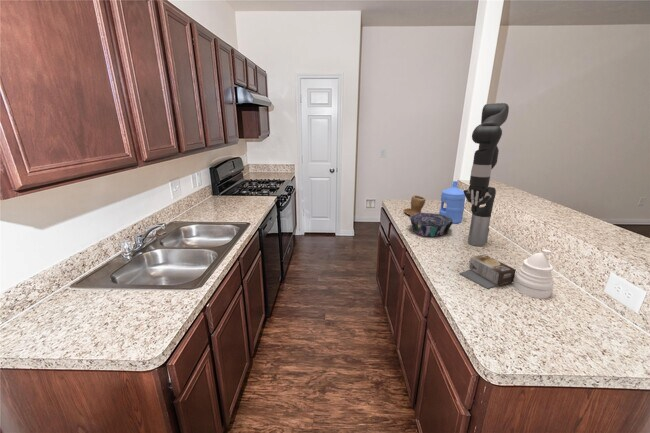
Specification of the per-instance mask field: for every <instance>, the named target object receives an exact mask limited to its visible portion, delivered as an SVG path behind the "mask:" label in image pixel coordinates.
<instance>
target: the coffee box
mask: <svg viewBox="0 0 650 433" xmlns="http://www.w3.org/2000/svg"><path fill="white" fill-rule="evenodd" d="M468 270H472V271H474V272H476V273H477V274H479V275H481V276H483V277H484V278H486V279H488V280H489V281H491V282H493V283H494V284H496V285H498V286H502V285H508V284H511V283H512V284H513V283H514V278H515V274H516V272H517V271H516V270H517V269H515V268H513V267H511V266H510V265H507V264H505V263H503V262H501V261H499V260H498V259H496V258H493V257H492V256H489V255H487V254H480V255H474V256H470V258H469V263H468ZM498 286H497V287H498Z"/></svg>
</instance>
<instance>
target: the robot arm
mask: <svg viewBox="0 0 650 433" xmlns="http://www.w3.org/2000/svg"><path fill="white" fill-rule="evenodd" d="M509 108H510V107H509V105H508V104H507V103H505V102H500V103H487V104H484V105H483V107H482V110H481V119H480V120H481V121H480V124H478V125H476V127H475V128H474V129H473V131H472V134H471V140H472V142H474V143H475V144H478V149H477V150H475V151H474V155H473V161H472V167H471V170H470V175H469V176H470V178H469V187H468V188H467V189H465V190H462V191H463V192H464V194H465V196H466V198H465V199H466V200H467V202H468V203H470V204H471V208H470V211H471V219H470V226H469V232H468V238H467V243H468V244H470V245H471V246H476V247H483V246H485V247H486V245H487V243H488V237H489V233H490V223H491V217H492V212H493V207H494V203H495V198H496V194H497V190H496V188H495V187H491V186H490V181H491V175H492V170H493V169H494V168H495V166H496V165H497V163H498V158H499V147H498V144H499V142H500V140H501V138H502V136H503V129H502V126H503V124H504V123H505V122H506V121H507V119H508V117H509V110H510V109H509ZM482 205H483V206H482Z"/></svg>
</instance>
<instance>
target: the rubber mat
mask: <svg viewBox="0 0 650 433" xmlns="http://www.w3.org/2000/svg"><path fill="white" fill-rule="evenodd" d="M459 275H460V276H462V277H464V278H466V279H468V280H469V281H471V282H473V283H475V284H477V285H479V286H480V287H483V288H484V289H486V290H490V289H493V288H495V287H498V285H496V284H494V283H493V282H491V281H489V280H488V279H486V278H484V277H483V276H481V275H479V274H477V273H476V272H474V271H472V270H471V269H467V270H465V271H461V272H459Z"/></svg>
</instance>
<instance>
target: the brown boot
mask: <svg viewBox="0 0 650 433" xmlns="http://www.w3.org/2000/svg"><path fill="white" fill-rule="evenodd" d="M425 204H426V198H425V197H424V196H420V195H413V196H412V197H411V200H410V208H404V209H403V212H404V213H406V214H407V215H408V216H412V215H415V214H418V213H422V210H423V208H424V206H425Z"/></svg>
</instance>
